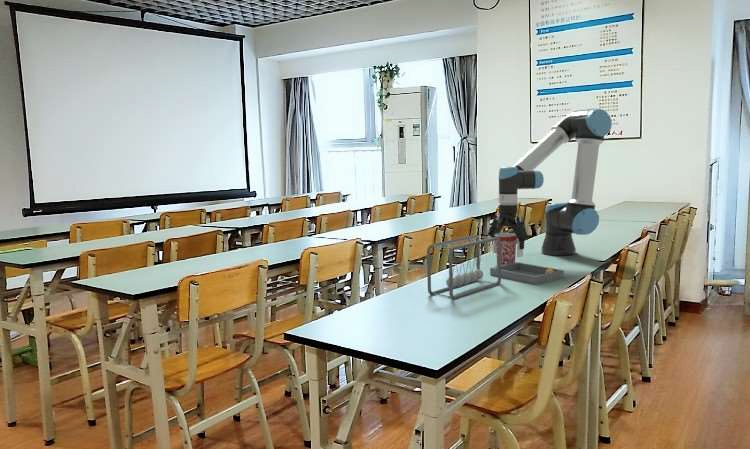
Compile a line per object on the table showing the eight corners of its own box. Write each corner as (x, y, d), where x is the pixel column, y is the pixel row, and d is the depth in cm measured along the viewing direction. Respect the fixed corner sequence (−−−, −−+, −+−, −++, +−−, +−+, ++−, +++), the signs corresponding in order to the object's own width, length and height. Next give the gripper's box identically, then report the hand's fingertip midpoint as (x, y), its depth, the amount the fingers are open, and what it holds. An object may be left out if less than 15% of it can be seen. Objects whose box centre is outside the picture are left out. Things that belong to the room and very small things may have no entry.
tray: (518, 270, 240) (518, 262, 239) (563, 279, 222) (563, 270, 221) (490, 276, 231) (490, 267, 230) (535, 285, 213) (535, 276, 212)
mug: (510, 269, 242) (510, 236, 240) (490, 267, 248) (490, 235, 246) (525, 264, 251) (525, 232, 249) (506, 262, 257) (506, 231, 255)
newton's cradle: (451, 300, 197) (450, 248, 194) (427, 296, 204) (426, 245, 202) (501, 284, 218) (501, 236, 215) (478, 280, 225) (477, 233, 223)
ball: (549, 275, 225) (549, 267, 225) (555, 277, 223) (556, 268, 222) (543, 277, 224) (543, 268, 223) (550, 278, 221) (550, 269, 221)
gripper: (479, 202, 254) (479, 251, 257) (525, 206, 234) (524, 259, 236) (492, 201, 258) (491, 249, 261) (537, 205, 238) (537, 257, 240)
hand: (507, 254), depth 249 cm, fingers open, 13 cm apart
